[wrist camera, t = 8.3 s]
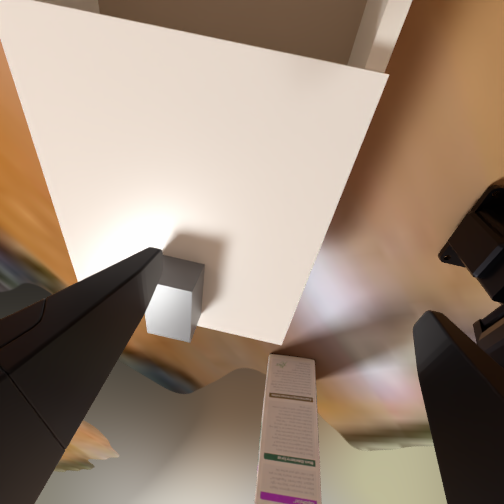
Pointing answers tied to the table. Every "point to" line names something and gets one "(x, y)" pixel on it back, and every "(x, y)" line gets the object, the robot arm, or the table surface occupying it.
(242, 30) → the carton
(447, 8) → the table surface
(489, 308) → the table surface
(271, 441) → the syrup box
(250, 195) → the carton lid
